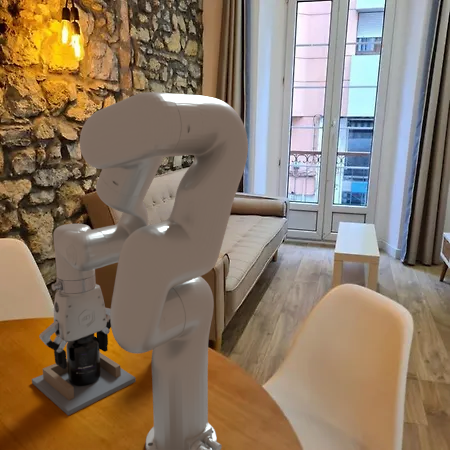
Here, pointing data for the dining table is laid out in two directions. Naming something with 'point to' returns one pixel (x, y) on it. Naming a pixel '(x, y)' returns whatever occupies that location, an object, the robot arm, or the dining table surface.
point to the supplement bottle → (83, 361)
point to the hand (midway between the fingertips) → (83, 357)
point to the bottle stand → (81, 395)
